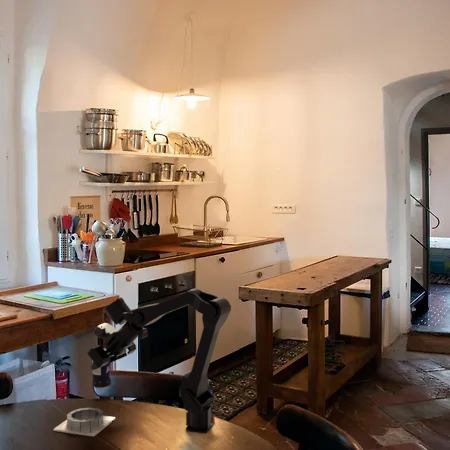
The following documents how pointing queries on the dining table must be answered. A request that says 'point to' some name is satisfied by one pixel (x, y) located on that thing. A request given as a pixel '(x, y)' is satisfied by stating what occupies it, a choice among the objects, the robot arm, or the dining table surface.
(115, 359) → the robot arm
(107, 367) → the beverage can
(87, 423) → the collar seat
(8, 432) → the dining table surface
